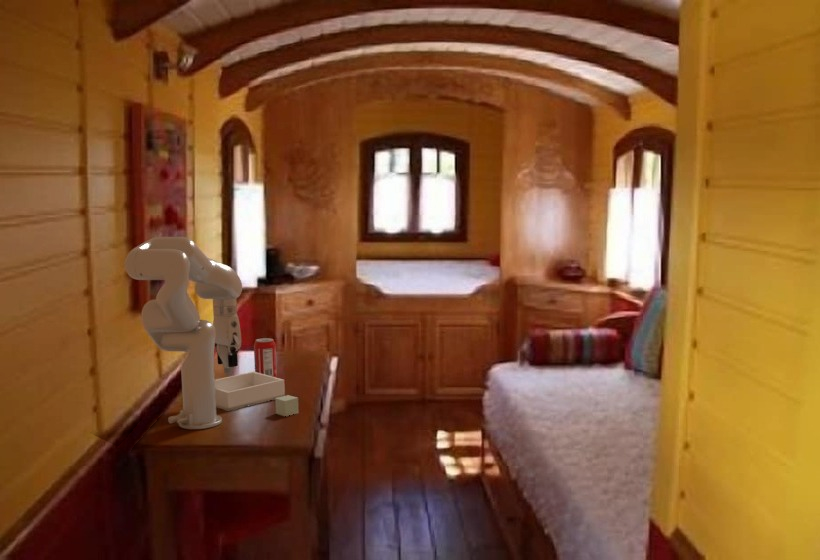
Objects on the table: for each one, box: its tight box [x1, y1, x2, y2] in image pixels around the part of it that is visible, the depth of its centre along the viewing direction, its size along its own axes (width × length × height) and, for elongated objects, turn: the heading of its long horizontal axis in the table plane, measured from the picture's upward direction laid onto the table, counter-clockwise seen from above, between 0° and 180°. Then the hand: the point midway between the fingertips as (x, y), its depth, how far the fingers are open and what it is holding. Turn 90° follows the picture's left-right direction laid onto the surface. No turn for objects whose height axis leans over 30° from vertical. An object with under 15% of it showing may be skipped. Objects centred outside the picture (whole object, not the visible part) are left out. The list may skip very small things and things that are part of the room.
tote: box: [215, 371, 286, 412], centre depth 263 cm, size 22×18×6 cm
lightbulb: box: [217, 343, 234, 376], centre depth 259 cm, size 6×6×11 cm
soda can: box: [253, 337, 278, 378], centre depth 289 cm, size 8×8×15 cm
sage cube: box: [274, 394, 300, 417], centre depth 246 cm, size 5×5×5 cm
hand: (227, 364), depth 259 cm, fingers closed on lightbulb, 5 cm apart
